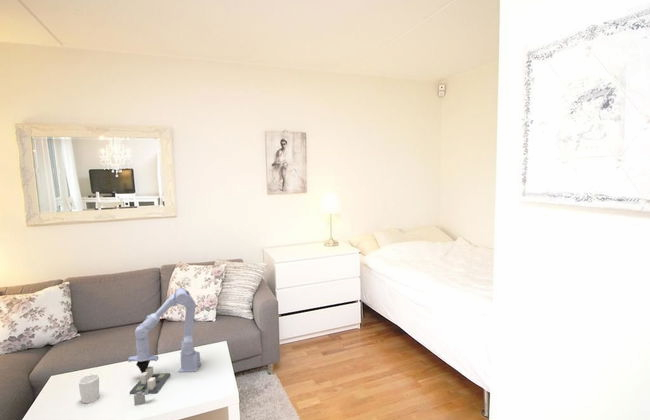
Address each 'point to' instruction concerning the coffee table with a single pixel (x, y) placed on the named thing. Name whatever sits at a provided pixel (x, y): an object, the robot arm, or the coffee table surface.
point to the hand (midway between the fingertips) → (144, 373)
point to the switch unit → (139, 387)
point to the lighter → (141, 396)
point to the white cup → (89, 388)
